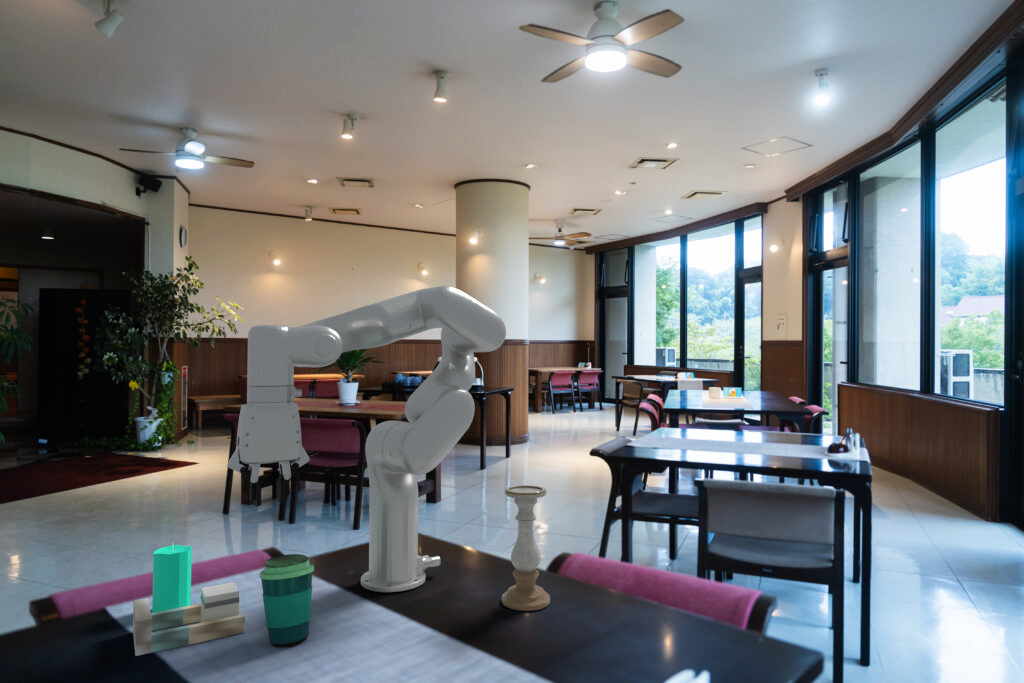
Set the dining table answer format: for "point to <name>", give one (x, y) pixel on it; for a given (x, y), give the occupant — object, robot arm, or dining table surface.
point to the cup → (287, 598)
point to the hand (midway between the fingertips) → (269, 502)
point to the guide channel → (181, 635)
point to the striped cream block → (219, 602)
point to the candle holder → (525, 553)
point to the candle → (171, 578)
